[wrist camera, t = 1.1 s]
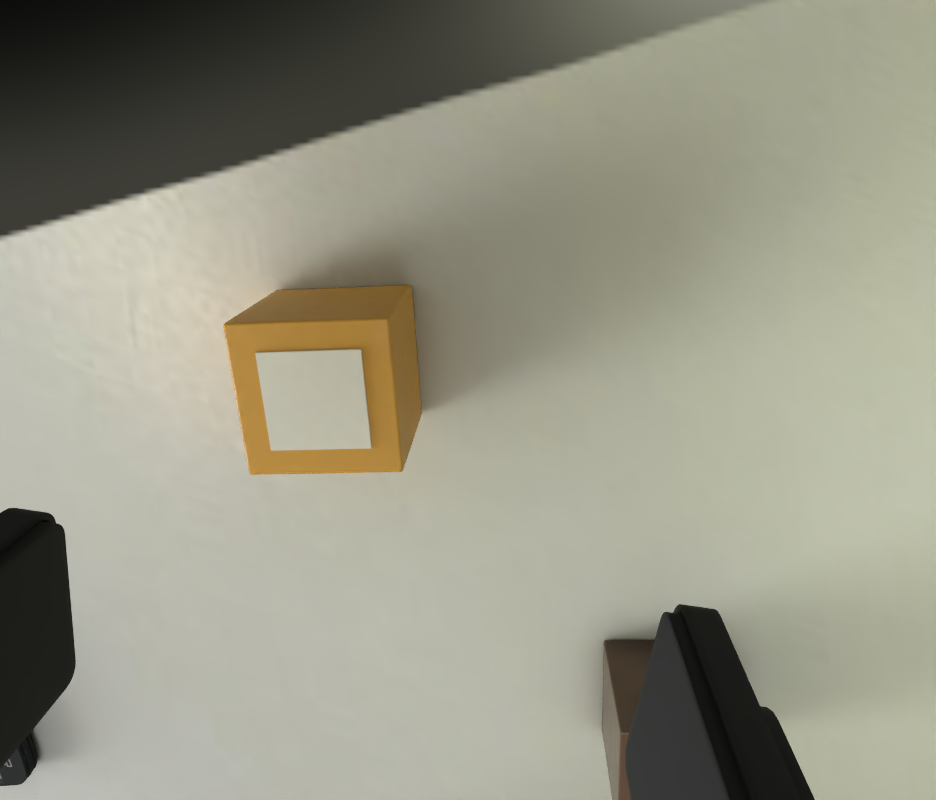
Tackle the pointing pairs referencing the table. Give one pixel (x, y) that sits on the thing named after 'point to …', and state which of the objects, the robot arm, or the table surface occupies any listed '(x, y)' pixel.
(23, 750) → the smartphone
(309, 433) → the ochre block
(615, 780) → the walnut block
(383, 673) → the table surface
